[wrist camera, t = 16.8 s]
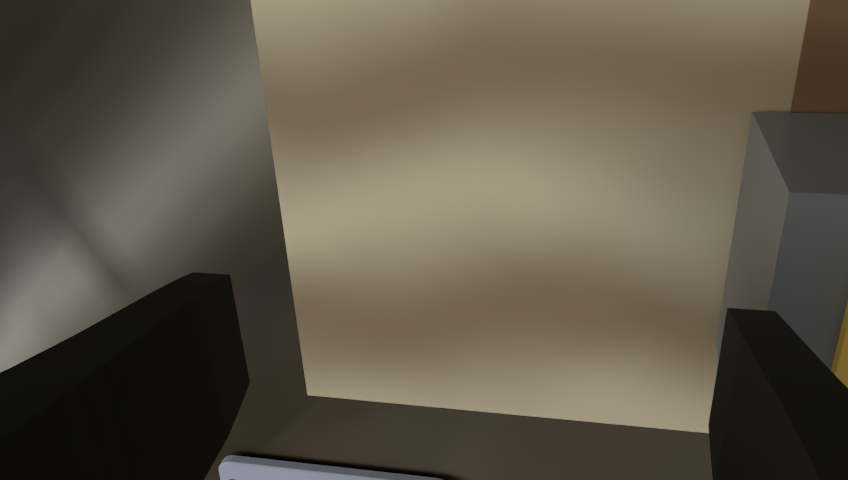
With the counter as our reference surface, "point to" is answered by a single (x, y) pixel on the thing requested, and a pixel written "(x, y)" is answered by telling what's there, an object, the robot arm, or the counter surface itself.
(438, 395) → the wooden cutting board
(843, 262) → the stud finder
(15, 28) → the counter surface
